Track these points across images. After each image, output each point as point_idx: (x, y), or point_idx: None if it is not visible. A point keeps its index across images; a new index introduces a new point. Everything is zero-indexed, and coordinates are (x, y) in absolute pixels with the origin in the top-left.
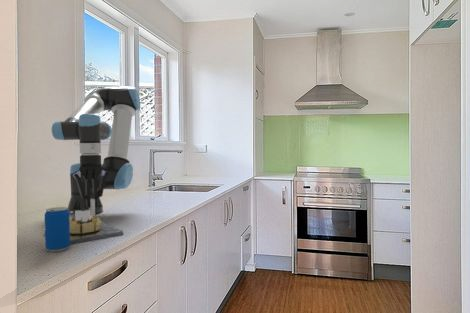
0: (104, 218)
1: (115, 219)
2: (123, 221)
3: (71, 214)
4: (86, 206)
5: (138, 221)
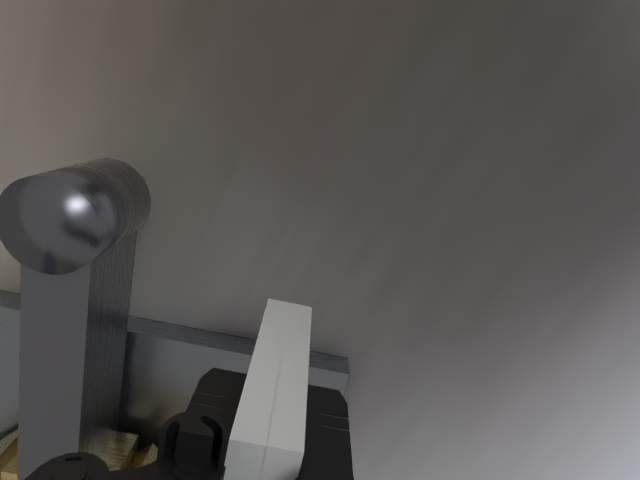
0: (548, 112)
1: (564, 257)
2: (533, 386)
3: (45, 295)
4: (200, 386)
5: (590, 477)
